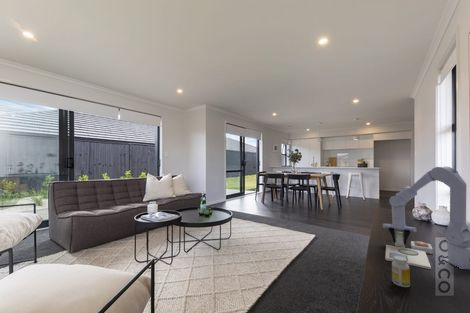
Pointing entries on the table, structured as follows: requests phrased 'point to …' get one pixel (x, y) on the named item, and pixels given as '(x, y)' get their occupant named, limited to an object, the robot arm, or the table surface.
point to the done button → (421, 244)
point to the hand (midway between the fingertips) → (399, 242)
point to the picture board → (408, 256)
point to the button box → (426, 249)
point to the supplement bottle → (400, 272)
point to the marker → (399, 239)
